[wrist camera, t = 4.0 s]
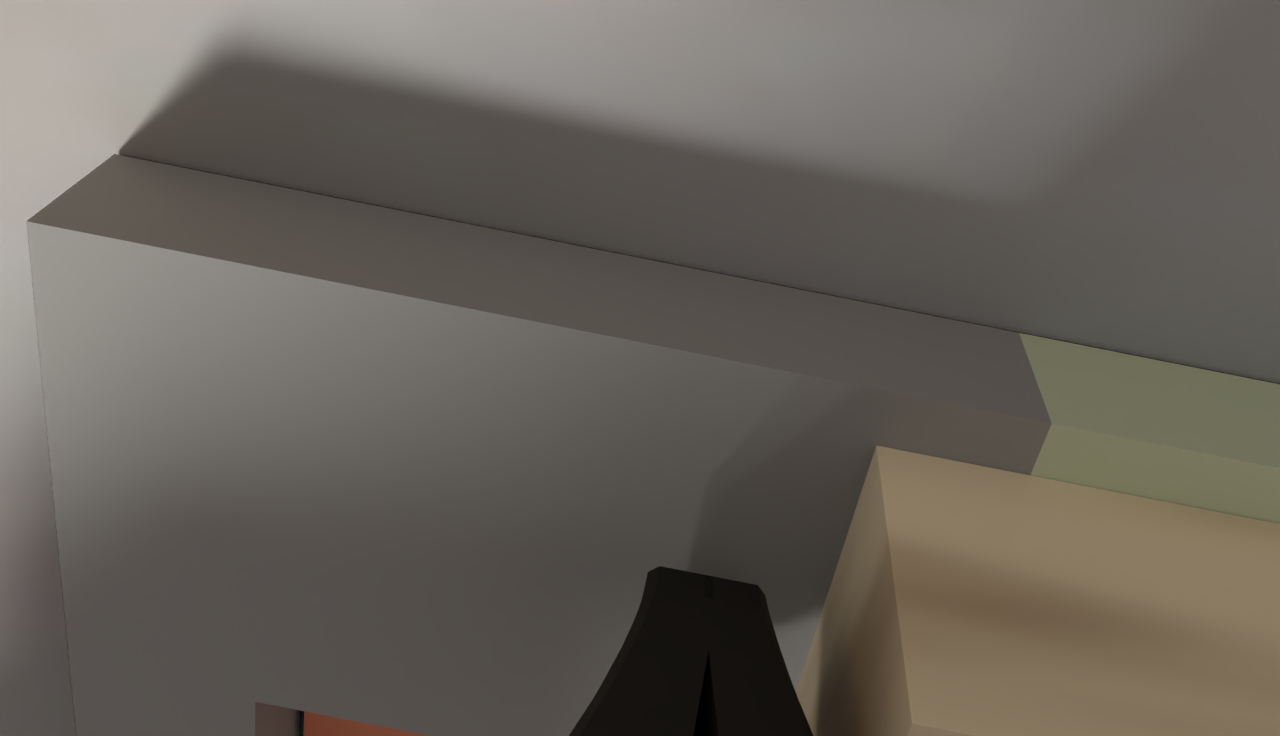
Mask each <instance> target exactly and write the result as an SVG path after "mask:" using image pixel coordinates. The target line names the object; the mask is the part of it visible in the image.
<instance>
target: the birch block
mask: <svg viewBox="0 0 1280 736" xmlns="http://www.w3.org/2000/svg"><path fill="white" fill-rule="evenodd" d="M796 694H797V697H798V700H799V702H800V704H801V707H802V709H803V712H804V714H805V716H806V719H807V721H808V724H809V726H810V728H811V731H812V733H813V736H1280V524H1278V523H1273V522H1267V521H1262V520H1257V519H1252V518H1247V517H1242V516H1237V515H1231V514H1226V513H1221V512H1216V511H1211V510H1206V509H1201V508H1196V507H1190V506H1185V505H1180V504H1175V503H1170V502H1165V501H1160V500H1154V499H1149V498H1144V497H1139V496H1134V495H1129V494H1124V493H1118V492H1113V491H1108V490H1103V489H1098V488H1093V487H1088V486H1082V485H1077V484H1072V483H1067V482H1062V481H1057V480H1052V479H1046V478H1041V477H1036V476H1031V475H1026V474H1021V473H1016V472H1011V471H1005V470H1000V469H995V468H990V467H985V466H980V465H975V464H969V463H964V462H959V461H954V460H949V459H944V458H939V457H933V456H928V455H923V454H918V453H913V452H908V451H903V450H897V449H892V448H887V447H882V446H877V445H876V448H875V451H874V454H873V457H872V460H871V463H870V466H869V469H868V473H867V476H866V479H865V482H864V485H863V488H862V491H861V494H860V497H859V500H858V503H857V506H856V509H855V512H854V515H853V518H852V521H851V524H850V528H849V531H848V534H847V537H846V540H845V543H844V546H843V549H842V552H841V555H840V558H839V561H838V564H837V567H836V570H835V573H834V576H833V579H832V582H831V586H830V589H829V592H828V595H827V598H826V601H825V604H824V607H823V610H822V613H821V616H820V619H819V622H818V625H817V628H816V631H815V634H814V637H813V641H812V644H811V647H810V650H809V653H808V656H807V659H806V662H805V665H804V668H803V671H802V674H801V677H800V680H799V683H798V686H797V689H796Z"/></svg>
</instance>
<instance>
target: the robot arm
mask: <svg viewBox="0 0 1280 736" xmlns="http://www.w3.org/2000/svg"><path fill="white" fill-rule="evenodd" d="M569 736H813V733H812V731H811V728H810V726H809V724H808V721H807V719H806V716H805V714H804V712H803V709H802V707H801V704H800V702H799V700H798V697H797V694H796V692H795V689H794V686H793V684H792V681H791V678H790V676H789V673H788V670H787V667H786V664H785V661H784V659H783V656H782V653H781V650H780V647H779V644H778V640H777V637H776V634H775V631H774V627H773V624H772V620H771V617H770V613H769V609H768V605H767V601H766V596H765V594H764V593H763V591H762V590H761V588H760V587H759V586H758V585H755V584H750V583H745V582H740V581H735V580H729V579H724V578H719V577H714V576H709V575H704V574H698V573H693V572H688V571H683V570H678V569H673V568H667V567H662V566H659V567H657V568H655V569H653V570H651V571H649V572H648V574H647V578H646V583H645V587H644V591H643V596H642V600H641V603H640V606H639V609H638V612H637V614H636V617H635V619H634V621H633V624H632V626H631V628H630V630H629V632H628V635H627V637H626V639H625V641H624V643H623V645H622V648H621V649H620V651H619V653H618V655H617V657H616V659H615V660H614V662H613V664H612V666H611V668H610V670H609V671H608V673H607V675H606V677H605V679H604V681H603V682H602V684H601V686H600V688H599V690H598V691H597V693H596V695H595V696H594V698H593V700H592V701H591V703H590V704H589V706H588V707H587V709H586V710H585V712H584V713H583V715H582V716H581V718H580V719H579V721H578V722H577V724H576V726H575V727H574V729H573V730H572V732H571V733H570V735H569Z"/></svg>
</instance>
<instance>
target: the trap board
mask: <svg viewBox="0 0 1280 736" xmlns="http://www.w3.org/2000/svg"><path fill="white" fill-rule="evenodd" d="M26 222H27V232H28V242H29V253H30V263H31V273H32V284H33V294H34V304H35V315H36V325H37V336H38V346H39V356H40V367H41V377H42V387H43V398H44V408H45V418H46V429H47V439H48V449H49V460H50V470H51V481H52V491H53V501H54V512H55V522H56V532H57V543H58V553H59V563H60V574H61V584H62V594H63V605H64V615H65V626H66V636H67V646H68V657H69V667H70V677H71V688H72V698H73V708H74V719H75V729H76V736H300V714H301V711H304V733H303V736H569V735H570V733H571V732H572V730H573V729H574V727H575V726H576V724H577V722H578V721H579V719H580V718H581V716H582V715H583V713H584V712H585V710H586V709H587V707H588V706H589V704H590V703H591V701H592V700H593V698H594V696H595V695H596V693H597V691H598V690H599V688H600V686H601V684H602V682H603V681H604V679H605V677H606V675H607V673H608V671H609V670H610V668H611V666H612V664H613V662H614V660H615V659H616V657H617V655H618V653H619V651H620V649H621V648H622V645H623V643H624V641H625V639H626V637H627V635H628V632H629V630H630V628H631V626H632V624H633V621H634V619H635V617H636V614H637V612H638V609H639V606H640V603H641V600H642V596H643V591H644V587H645V583H646V578H647V574H648V572H649V571H651V570H653V569H655V568H657V567H659V566H662V567H667V568H673V569H678V570H683V571H688V572H693V573H698V574H704V575H709V576H714V577H719V578H724V579H729V580H735V581H740V582H745V583H750V584H755V585H758V586H759V587H760V588H761V590H762V591H763V593H764V594H765V596H766V601H767V605H768V609H769V613H770V617H771V620H772V624H773V627H774V631H775V634H776V637H777V640H778V644H779V647H780V650H781V653H782V656H783V659H784V661H785V664H786V667H787V670H788V673H789V676H790V678H791V681H792V684H793V686H794V689H795V692H796V689H797V686H798V683H799V680H800V677H801V674H802V671H803V668H804V665H805V662H806V659H807V656H808V653H809V650H810V647H811V644H812V641H813V637H814V634H815V631H816V628H817V625H818V622H819V619H820V616H821V613H822V610H823V607H824V604H825V601H826V598H827V595H828V592H829V589H830V586H831V582H832V579H833V576H834V573H835V570H836V567H837V564H838V561H839V558H840V555H841V552H842V549H843V546H844V543H845V540H846V537H847V534H848V531H849V528H850V524H851V521H852V518H853V515H854V512H855V509H856V506H857V503H858V500H859V497H860V494H861V491H862V488H863V485H864V482H865V479H866V476H867V473H868V469H869V466H870V463H871V460H872V457H873V454H874V451H875V448H876V445H877V446H882V447H887V448H892V449H897V450H903V451H908V452H913V453H918V454H923V455H928V456H933V457H939V458H944V459H949V460H954V461H959V462H964V463H969V464H975V465H980V466H985V467H990V468H995V469H1000V470H1005V471H1011V472H1016V473H1021V474H1026V475H1031V476H1036V477H1041V478H1046V479H1052V480H1057V481H1062V482H1067V483H1072V484H1077V485H1082V486H1088V487H1093V488H1098V489H1103V490H1108V491H1113V492H1118V493H1124V494H1129V495H1134V496H1139V497H1144V498H1149V499H1154V500H1160V501H1165V502H1170V503H1175V504H1180V505H1185V506H1190V507H1196V508H1201V509H1206V510H1211V511H1216V512H1221V513H1226V514H1231V515H1237V516H1242V517H1247V518H1252V519H1257V520H1262V521H1267V522H1273V523H1278V524H1280V384H1275V383H1270V382H1265V381H1260V380H1255V379H1250V378H1245V377H1240V376H1235V375H1230V374H1225V373H1220V372H1215V371H1210V370H1205V369H1199V368H1194V367H1189V366H1184V365H1179V364H1174V363H1169V362H1164V361H1159V360H1154V359H1149V358H1144V357H1139V356H1134V355H1129V354H1124V353H1118V352H1113V351H1108V350H1103V349H1098V348H1093V347H1088V346H1083V345H1078V344H1073V343H1068V342H1063V341H1058V340H1053V339H1048V338H1043V337H1038V336H1032V335H1027V334H1022V333H1017V332H1012V331H1007V330H1002V329H997V328H992V327H987V326H982V325H977V324H972V323H967V322H962V321H957V320H951V319H946V318H941V317H936V316H931V315H926V314H921V313H916V312H911V311H906V310H901V309H896V308H891V307H886V306H881V305H876V304H870V303H865V302H860V301H855V300H850V299H845V298H840V297H835V296H830V295H825V294H820V293H815V292H810V291H805V290H800V289H795V288H790V287H784V286H779V285H774V284H769V283H764V282H759V281H754V280H749V279H744V278H739V277H734V276H729V275H724V274H719V273H714V272H709V271H703V270H698V269H693V268H688V267H683V266H678V265H673V264H668V263H663V262H658V261H653V260H648V259H643V258H638V257H633V256H628V255H623V254H617V253H612V252H607V251H602V250H597V249H592V248H587V247H582V246H577V245H572V244H567V243H562V242H557V241H552V240H547V239H542V238H536V237H531V236H526V235H521V234H516V233H511V232H506V231H501V230H496V229H491V228H486V227H481V226H476V225H471V224H466V223H461V222H455V221H450V220H445V219H440V218H435V217H430V216H425V215H420V214H415V213H410V212H405V211H400V210H395V209H390V208H385V207H380V206H375V205H369V204H364V203H359V202H354V201H349V200H344V199H339V198H334V197H329V196H324V195H319V194H314V193H309V192H304V191H299V190H294V189H288V188H283V187H278V186H273V185H268V184H263V183H258V182H253V181H248V180H243V179H238V178H233V177H228V176H223V175H218V174H213V173H207V172H202V171H197V170H192V169H187V168H182V167H177V166H172V165H167V164H162V163H157V162H152V161H147V160H142V159H137V158H132V157H127V156H121V155H116V154H114V155H113V156H111V157H110V158H109V159H108V160H106V161H105V162H104V163H102V164H101V165H100V166H98V167H97V168H96V169H94V170H93V171H92V172H90V173H89V174H88V175H87V176H85V177H84V178H83V179H81V180H80V181H79V182H77V183H76V184H75V185H73V186H72V187H71V188H69V189H68V190H67V191H66V192H64V193H63V194H62V195H60V196H59V197H58V198H56V199H55V200H54V201H52V202H51V203H50V204H49V205H47V206H46V207H45V208H43V209H42V210H41V211H39V212H38V213H37V214H35V215H34V216H33V217H31V218H30V219H29V220H28V221H26Z"/></svg>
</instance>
